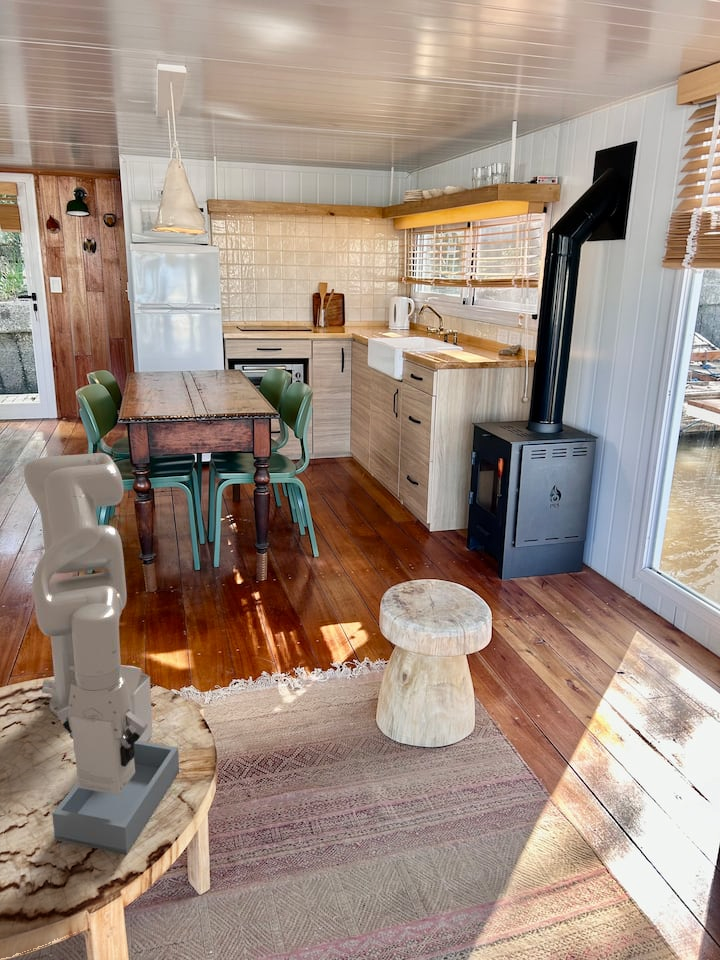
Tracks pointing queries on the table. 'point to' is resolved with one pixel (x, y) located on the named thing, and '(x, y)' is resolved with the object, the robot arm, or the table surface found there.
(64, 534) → the robot arm
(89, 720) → the skincare box
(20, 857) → the table surface
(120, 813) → the tote
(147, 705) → the milk carton
